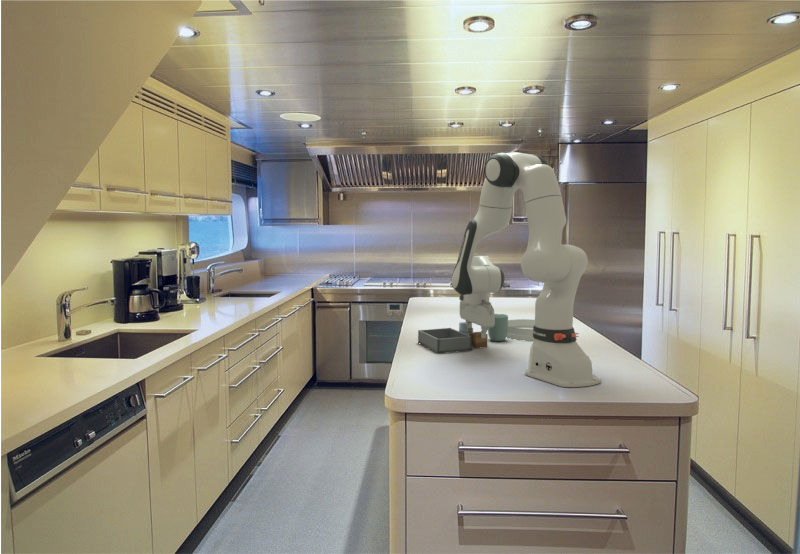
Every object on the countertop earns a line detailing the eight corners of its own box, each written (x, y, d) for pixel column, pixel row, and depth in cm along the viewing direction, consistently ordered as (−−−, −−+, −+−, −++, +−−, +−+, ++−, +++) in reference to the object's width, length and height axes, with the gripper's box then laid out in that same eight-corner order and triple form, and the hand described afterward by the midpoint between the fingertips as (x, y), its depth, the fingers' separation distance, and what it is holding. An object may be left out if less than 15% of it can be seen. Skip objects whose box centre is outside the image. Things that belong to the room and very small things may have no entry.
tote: (471, 350, 189) (472, 336, 189) (437, 353, 185) (437, 339, 184) (450, 340, 206) (450, 327, 205) (418, 343, 201) (418, 330, 200)
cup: (506, 338, 209) (507, 313, 208) (508, 343, 201) (509, 317, 200) (486, 338, 210) (487, 313, 209) (488, 342, 202) (488, 316, 201)
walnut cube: (487, 347, 194) (487, 334, 194) (475, 348, 192) (475, 335, 192) (480, 344, 199) (480, 331, 198) (468, 345, 197) (469, 332, 197)
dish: (563, 342, 204) (563, 329, 203) (506, 342, 204) (506, 329, 204) (548, 330, 226) (548, 319, 225) (497, 330, 226) (497, 319, 226)
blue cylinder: (474, 341, 203) (474, 323, 203) (462, 342, 202) (462, 324, 201) (468, 339, 208) (468, 321, 207) (456, 340, 206) (456, 322, 206)
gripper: (499, 302, 185) (498, 340, 187) (471, 294, 204) (470, 329, 206) (484, 303, 183) (483, 341, 185) (456, 294, 202) (456, 330, 204)
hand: (476, 335), depth 195 cm, fingers open, 8 cm apart
